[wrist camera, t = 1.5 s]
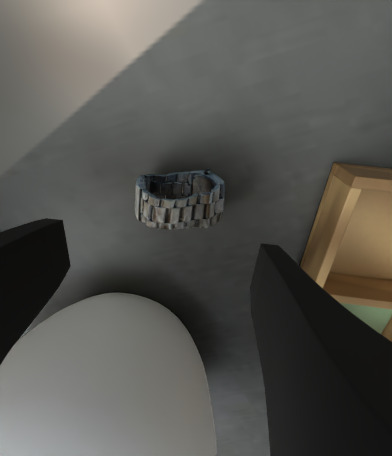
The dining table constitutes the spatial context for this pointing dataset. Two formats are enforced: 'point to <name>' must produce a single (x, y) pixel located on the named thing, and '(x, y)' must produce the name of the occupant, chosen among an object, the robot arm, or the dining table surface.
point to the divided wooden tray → (355, 243)
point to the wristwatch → (180, 199)
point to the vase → (106, 384)
